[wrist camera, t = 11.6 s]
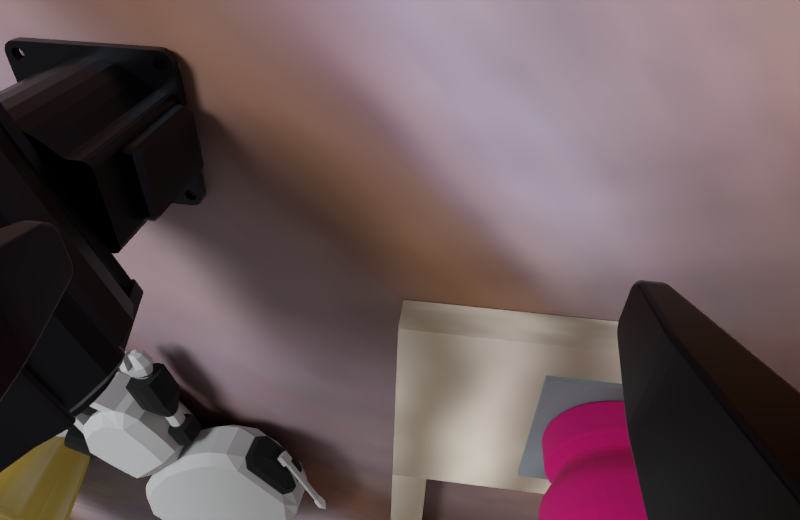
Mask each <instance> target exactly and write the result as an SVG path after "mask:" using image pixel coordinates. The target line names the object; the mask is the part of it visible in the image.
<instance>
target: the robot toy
mask: <svg viewBox="0 0 800 520" xmlns="http://www.w3.org/2000/svg"><path fill="white" fill-rule="evenodd" d="M120 370H121V372H123V373H125V374H127V375H129V376H127V375H125V374H123V373H121V372H117V373H116V375H115V377H114V379H113V380H112V381H111V383H110V384H109V386H108V387H107V389H106V390H105V391H104V392H103V393H102V394H101V395H100V396H99V397H98V398H97V399H96V400H95V401H94V402H93V403H92V404H91V405H90V406H89V407H87V408H86V409H85V410H84V411H83V412H82V413H80V414H79V415H77V416H76V417H75V418H76V421H75V423H74V424H73V425H72V426H71V427H70V428H69V429H67V430H65V431H63V432H62V433H60V434H58V435H56V436H57V437H65V440H64V445H65V447H67V448H70V449H72V450H75V451H78V452H80V453H83V454H85V455H88V456H90V457H99V458H100V459H102V460H104V461H105V462H107V463H109V464H110V465H112V466H114V467H116V468H118V469H120V470H121V471H123V472H125V473H127V474H129V475H131V476H133V477H135V478H137V479H138V478H142V477H145V476H149V475H152V474H153V475H152V476H151V478H150V480H149V481H148V483H147V485H146V495H147V499H148V502H149V504H150V507H151V509H152V512H153V514H154V515H156V516H157V517H159V518H160V519H162V520H293V519H294V517H295V516H296V514H297V511H298V508H299V505H300V502H301V499H302V497H303V494H304V491H305V489H306V490H307V492H308V493H309V494H310V495H311V497H312V498H313V499H314V500H315V501H314V502H315V504H316V505H317V506H318V507H319V508H322V509H326V504H325V501H324V499H323V498H322V497H321V496H319V495H318V494H317V493H316V492H315V490H314V489H313V488H312V487H311V485H310V484H309V483H308V482H307V477H306V474H305V472H304V469H303V467H302V465H301V462H300V461H299V460H298V459H297V458H295V457H294V456H293V455H292V454H290V453H289V452H288V451H286V450H285V449H284V448H283V447H282V446H281V445H280V444H279V443H278V442H277V441H276V440H274V439H272V438H271V437H269V436H266V435H265V434H264V433H263V432H261V431H260V430H259V429H257V428H251V427H245V426H239V425H226V426H219V427H213V428H208V429H204V430H201V427H202V426H201V425H200V423H199V422H198V420H197V419H196V418H195V416H194V415H193V414H192V413H191V412H190V411H189V410H188V409H187V408H186V407H185V406H184V405H183V404H182V403H181V402H180V401H179V385H178V384H177V382H176V381H175V379H174V378H173V377H172V375H171V374H170V372H169V371H168V370H167V368H166V367H165V365H164V364H160V363H154V364H153V362H152V358H151V357H150V356H149V355H148V354H147V353H145V352H144V351H142V350H132V351H131V352H129V351H125V356H124V359H123V362H122V364H121V365H120ZM200 430H201V431H200Z"/></svg>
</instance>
